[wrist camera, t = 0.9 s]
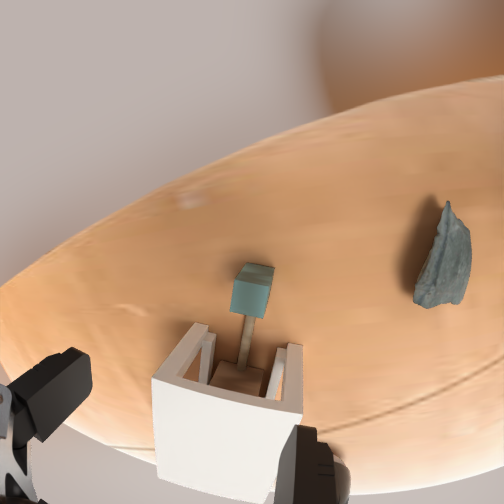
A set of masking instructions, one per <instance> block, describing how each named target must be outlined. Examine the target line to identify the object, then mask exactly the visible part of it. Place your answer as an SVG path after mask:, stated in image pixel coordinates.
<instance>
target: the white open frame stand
mask: <svg viewBox="0 0 504 504" xmlns="http://www.w3.org/2000/svg"><path fill="white" fill-rule="evenodd" d="M208 328H209V325H205V324H201V323H197V322H195V323H194V324H193V325H192V327H191V328H190V329H189V330H188V332H187V333H186V334H185V335H184V337H183V338H182V339H181V341H180V342H179V343H178V344H177V346H176V347H175V348H174V350H173V351H172V352H171V353H170V355H169V356H168V357H167V358H166V360H165V361H164V362H163V364H162V365H161V366H160V367H159V369H158V370H157V371H156V373H155V374H154V375H153V376H152V378H151V379H152V410H153V428H154V442H155V454H156V464H157V473H158V478H161V479H164V480H166V481H169V482H172V483H175V484H179V485H181V486H185V487H188V488H191V489H195V490H198V491H202V492H206V493H210V494H213V495H217V496H222V497H226V498H230V499H235V500H240V501H245V502H251V503H257V504H263V503H264V501H265V499H266V497H267V495H268V493H269V491H270V489H271V487H272V485H273V483H274V481H275V479H276V477H277V473H278V464H279V459H280V455H281V452H282V449H283V447H284V445H285V443H286V441H287V439H288V437H289V435H290V433H291V431H292V429H293V427H294V425H295V424H297V425H299V424H300V421H301V419H302V416H303V345H298V344H292V343H288V346H287V349H284V348H279V347H278V348H277V352H276V356H275V360H274V364H273V368H272V372H271V376H270V379H269V383H268V387H267V391H266V395H265V398H261V397H256V396H252V395H247V394H242V393H238V392H234V391H229V390H225V389H221V388H217V387H213V386H210V385H209V384H210V381H211V373H212V366H213V358H214V350H215V343H216V335H217V334H215V333H211V332H208ZM201 347H202V351H201V361H200V371H199V381H198V382H195V381H191V380H188V379H185V378H183V376H184V375H185V373H186V371H187V370H188V368H189V367H190V365H191V363H192V362H193V360H194V358H195V357H196V355H197V354H198V352H199V350H200V349H201ZM283 367H284V372H283V382H282V392H281V401H277V400H274V399H275V395H276V392H277V388H278V385H279V381H280V378H281V374H282V371H283Z"/></svg>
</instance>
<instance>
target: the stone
mask: <svg viewBox="0 0 504 504" xmlns="http://www.w3.org/2000/svg"><path fill="white" fill-rule="evenodd" d="M471 261H472V249H471V239H470V231H469V229H468V228H467V227H465V226H464V224H463V222H462V221H461V220H460V219H457V218H456V216H455V214H454V213H453V212H452V210H451V206H450V201H447V202H446V205H445V208H444V210H443V212H442V215H441V219H440V222H439V225H438V226H437V235H436V236H435V237H434V242H433V245H432V249H431V250H430V251H429V255H428V257H427V259H426V261H425V263H424V265H423V267H422V270H421V272H420V274H419V276H418V279H417V282H416V283H415V291H414V295H413V302H414V303H416V304H418V305H420V306H422V307H424V308H426V309H429V308H432V307H435V306H437V305H439V304H445V303H450V302H451V303H452V304H456V305H457V304H459V303H460V302H461V301H462V300H463V297H464V294H465V290H466V287H467V284H468V280H469V277H470V271H471Z"/></svg>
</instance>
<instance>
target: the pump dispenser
mask: <svg viewBox="0 0 504 504" xmlns="http://www.w3.org/2000/svg"><path fill="white" fill-rule="evenodd" d="M333 457H334V469H335V476H334V477H335V484H336V501H337V504H348V500H349V494H350V486H351V475H350V471H349V469H348V468H347V467H346V466H345V464H344V463H343V461H342V460H341V459H340V458H339V457H337V456H335V455H334V454H333Z"/></svg>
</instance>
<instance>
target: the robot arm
mask: <svg viewBox="0 0 504 504" xmlns="http://www.w3.org/2000/svg"><path fill="white" fill-rule="evenodd" d="M91 390H92V374H91V363H90V357H89V355H88V354H86V353H84V352H82V351H80V350H78V349H76V348H74V347H71V348H69V349H67V350H66V351H65V352H63V353H62V354H60V353H57V354H54V355H51V356H48V357H46V358H45V359H43V360H42V361H41V362H39V364H37V365H35V366H34V367H33V369H30V370H28V371H27V372H25V373H24V374H23V375H21V376H20V377H19V378H17V379H16V380H15V381H13V382H12V383H10V384H9V385H8V386H4V385H2V384H0V504H48V503H46V502H45V501H44V500H42V499H40V500H39V502H38V500H37V496H36V492H35V489H34V487H33V483H32V476H31V442H30V439H31V438H32V437H33V436H34V437H35V438H37V439H38V440H39V441H41V442H42V443H43V442H44V441H45V440H46V439H47V438H48V437H49V436H50V435H51V434H52V433H53V432H54V431H55V430H56V429H57V428H58V427H59V426H60V425H61V424H62V423H63V422H64V421H65V420H66V418H67V417H68V416H69V415H70V414H71V413H72V412H73V411H74V410H75V409H76V408H77V407H78V406H79V405H80V404H81V403H82V402H83V401H84V400H85V399H86V398H87V397H88V396H89V394H90V392H91ZM334 476H335V469H334V457H333V453H332V451H331V449H330V448H329V446H328V444H327V443H323V442H317V429H316V428H315V427H309V426H303V425H297V424H295V425H294V427H293V429H292V431H291V433H290V435H289V437H288V439H287V441H286V443H285V445H284V447H283V449H282V452H281V455H280V459H279V464H278V473H277V481H276V489H275V497H274V504H337V501H336V484H335V477H334Z"/></svg>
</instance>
